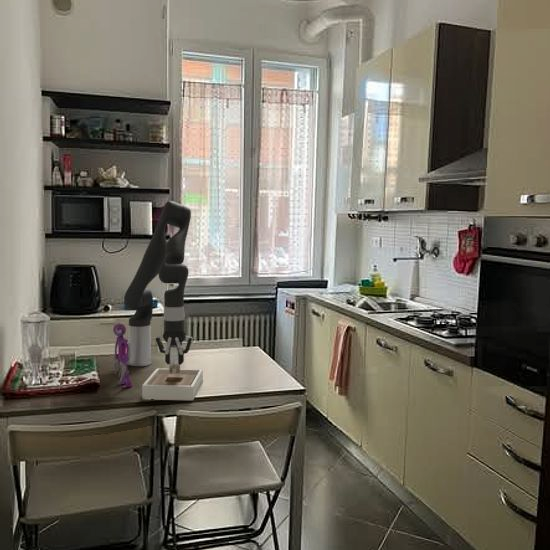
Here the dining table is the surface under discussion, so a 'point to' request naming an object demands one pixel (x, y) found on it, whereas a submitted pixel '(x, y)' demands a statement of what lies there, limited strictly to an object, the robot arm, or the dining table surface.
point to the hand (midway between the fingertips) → (174, 363)
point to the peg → (174, 360)
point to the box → (172, 386)
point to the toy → (121, 355)
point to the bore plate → (174, 379)
